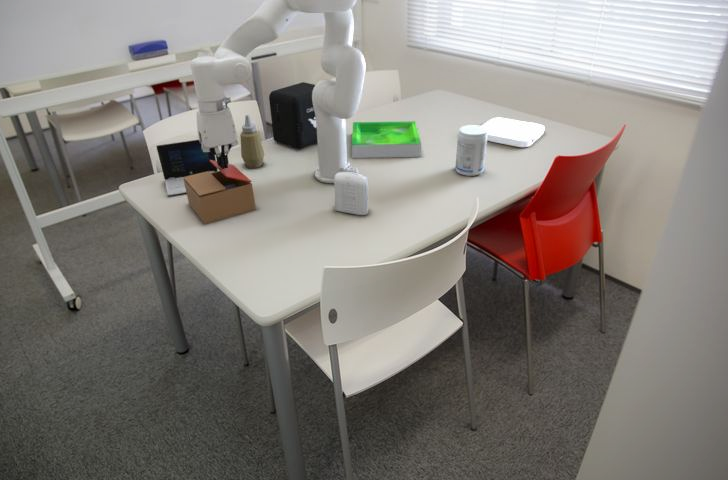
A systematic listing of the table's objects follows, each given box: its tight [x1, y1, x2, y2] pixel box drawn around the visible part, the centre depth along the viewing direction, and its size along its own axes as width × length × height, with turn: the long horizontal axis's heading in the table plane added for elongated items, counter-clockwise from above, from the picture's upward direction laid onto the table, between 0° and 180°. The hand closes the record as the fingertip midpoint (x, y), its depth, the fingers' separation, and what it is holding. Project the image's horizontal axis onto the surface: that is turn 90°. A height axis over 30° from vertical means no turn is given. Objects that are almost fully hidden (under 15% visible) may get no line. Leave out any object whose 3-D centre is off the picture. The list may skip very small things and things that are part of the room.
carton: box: [182, 170, 257, 225], centre depth 154 cm, size 16×15×9 cm
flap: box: [209, 160, 253, 183], centre depth 153 cm, size 8×15×1 cm, turn 34°
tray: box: [351, 120, 422, 159], centre depth 196 cm, size 25×25×5 cm
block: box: [220, 184, 237, 192], centre depth 156 cm, size 5×5×5 cm
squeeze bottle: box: [239, 114, 265, 169], centre depth 178 cm, size 8×8×18 cm
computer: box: [481, 116, 546, 148], centre depth 202 cm, size 22×22×3 cm
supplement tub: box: [454, 124, 488, 177], centre depth 171 cm, size 10×10×15 cm
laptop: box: [155, 138, 219, 196], centre depth 167 cm, size 18×12×13 cm
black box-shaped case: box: [268, 81, 318, 150], centre depth 197 cm, size 20×15×20 cm
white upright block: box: [333, 172, 369, 216], centre depth 149 cm, size 10×4×12 cm, turn 69°
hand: (223, 166), depth 151 cm, fingers closed
